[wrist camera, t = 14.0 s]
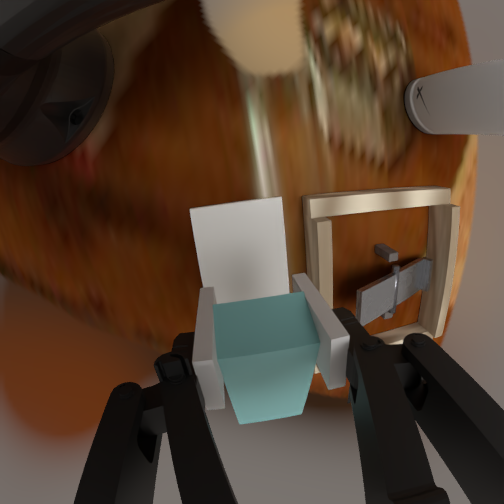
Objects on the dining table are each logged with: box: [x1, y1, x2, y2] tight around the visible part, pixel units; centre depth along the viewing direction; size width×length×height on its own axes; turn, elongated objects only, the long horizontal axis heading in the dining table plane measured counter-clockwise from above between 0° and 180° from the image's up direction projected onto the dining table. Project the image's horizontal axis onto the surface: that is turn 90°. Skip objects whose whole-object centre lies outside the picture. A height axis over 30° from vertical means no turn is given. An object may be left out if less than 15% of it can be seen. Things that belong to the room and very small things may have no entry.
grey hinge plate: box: [356, 257, 433, 326], centre depth 26 cm, size 11×5×2 cm, turn 96°
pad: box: [190, 196, 289, 304], centre depth 28 cm, size 8×13×1 cm, turn 6°
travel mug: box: [405, 59, 504, 136], centre depth 15 cm, size 6×7×20 cm
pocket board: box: [302, 186, 460, 374], centre depth 28 cm, size 16×19×4 cm
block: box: [213, 291, 321, 424], centre depth 16 cm, size 10×4×3 cm, turn 6°
